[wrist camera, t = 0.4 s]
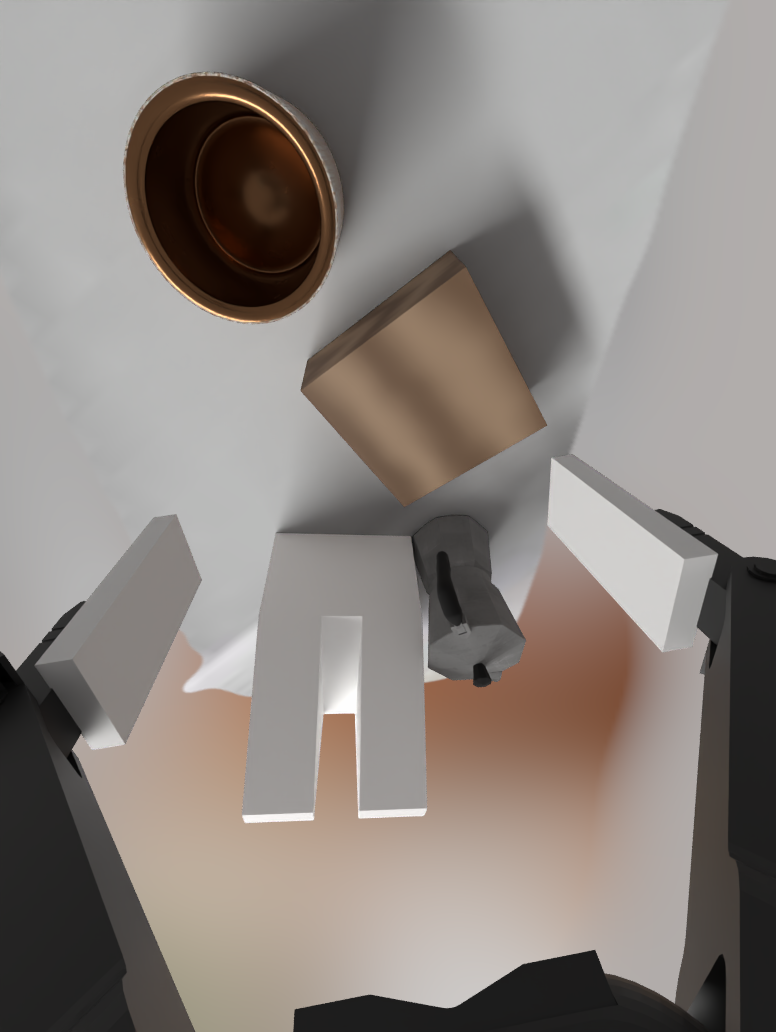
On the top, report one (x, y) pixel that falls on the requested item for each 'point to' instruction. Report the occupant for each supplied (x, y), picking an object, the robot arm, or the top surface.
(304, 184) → the planter
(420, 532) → the coffeepot
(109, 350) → the top surface
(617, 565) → the robot arm
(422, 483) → the plinth
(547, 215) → the top surface
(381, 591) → the white slotted block
